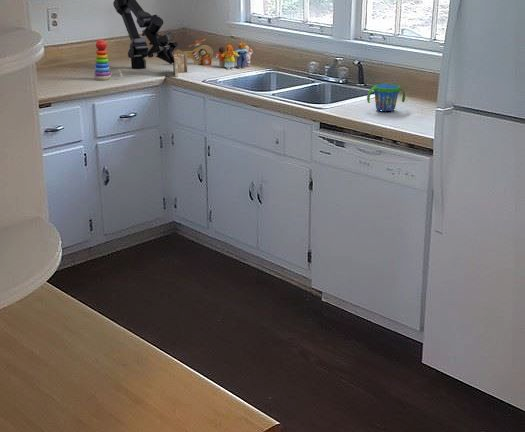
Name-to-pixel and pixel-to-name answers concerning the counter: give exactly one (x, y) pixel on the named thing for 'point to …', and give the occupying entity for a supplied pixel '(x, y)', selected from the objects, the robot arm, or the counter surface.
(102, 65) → the stacking toy
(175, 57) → the fence gate
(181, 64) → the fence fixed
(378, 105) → the snack cup
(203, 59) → the toy helicopter
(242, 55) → the doll family
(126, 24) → the robot arm
